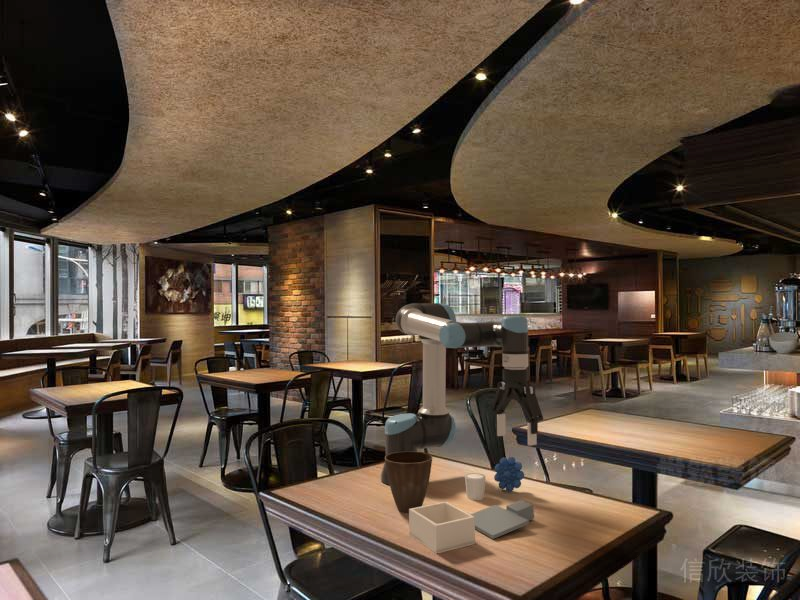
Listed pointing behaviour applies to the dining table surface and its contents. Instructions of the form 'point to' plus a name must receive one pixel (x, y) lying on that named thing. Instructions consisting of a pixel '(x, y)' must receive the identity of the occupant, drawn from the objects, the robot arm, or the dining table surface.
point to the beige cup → (475, 486)
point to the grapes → (509, 474)
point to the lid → (503, 518)
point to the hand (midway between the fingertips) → (516, 440)
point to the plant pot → (408, 478)
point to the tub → (442, 527)
